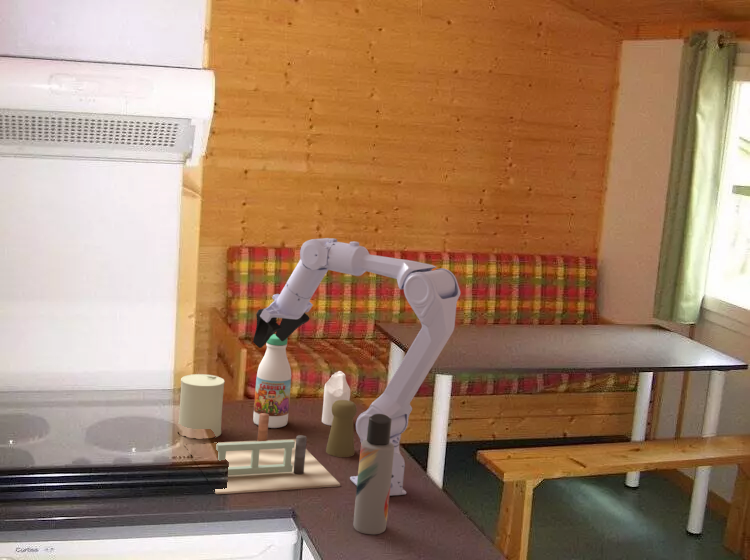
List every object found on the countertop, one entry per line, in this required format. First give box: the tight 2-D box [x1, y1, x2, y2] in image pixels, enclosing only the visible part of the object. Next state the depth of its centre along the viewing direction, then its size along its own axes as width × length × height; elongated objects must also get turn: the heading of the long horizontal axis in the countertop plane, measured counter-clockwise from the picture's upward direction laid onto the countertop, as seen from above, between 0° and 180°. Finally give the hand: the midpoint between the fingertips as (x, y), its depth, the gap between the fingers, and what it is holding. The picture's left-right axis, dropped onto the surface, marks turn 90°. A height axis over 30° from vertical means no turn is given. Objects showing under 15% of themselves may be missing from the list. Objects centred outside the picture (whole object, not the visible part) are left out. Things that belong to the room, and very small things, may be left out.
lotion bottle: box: [353, 414, 394, 535], centre depth 170 cm, size 6×6×20 cm
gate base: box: [214, 413, 341, 495], centre depth 196 cm, size 26×24×8 cm
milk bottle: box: [252, 333, 292, 429], centre depth 222 cm, size 8×8×20 cm
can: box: [178, 373, 226, 438], centre depth 212 cm, size 9×9×12 cm
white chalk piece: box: [321, 370, 351, 426], centre depth 228 cm, size 6×12×6 cm
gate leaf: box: [216, 439, 295, 476], centre depth 190 cm, size 15×1×6 cm, turn 113°
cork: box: [325, 400, 358, 458], centre depth 208 cm, size 6×6×11 cm
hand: (268, 341), depth 203 cm, fingers open, 7 cm apart
